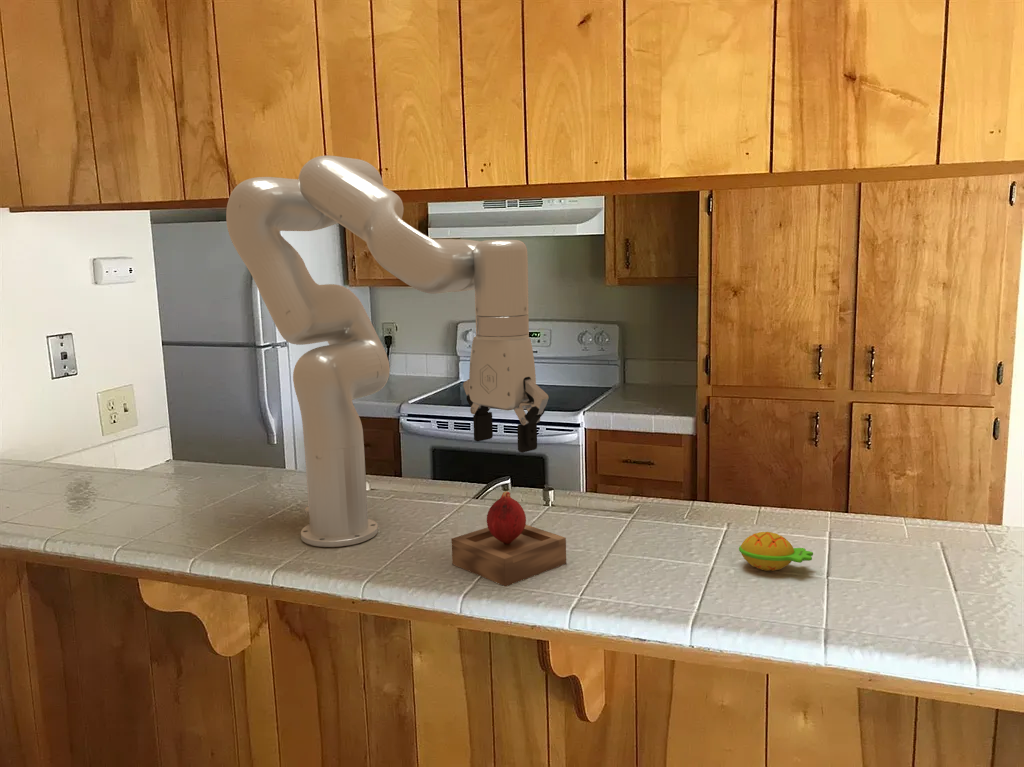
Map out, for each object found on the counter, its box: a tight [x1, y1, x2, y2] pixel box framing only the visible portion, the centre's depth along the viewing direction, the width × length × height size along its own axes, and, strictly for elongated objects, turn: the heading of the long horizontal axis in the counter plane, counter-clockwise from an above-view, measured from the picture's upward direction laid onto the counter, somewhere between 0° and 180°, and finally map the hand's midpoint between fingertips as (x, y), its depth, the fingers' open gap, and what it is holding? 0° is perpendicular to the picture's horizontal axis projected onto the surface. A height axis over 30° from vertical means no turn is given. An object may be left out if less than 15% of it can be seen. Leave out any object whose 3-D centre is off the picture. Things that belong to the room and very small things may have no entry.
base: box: [450, 524, 567, 587], centre depth 125 cm, size 12×12×4 cm
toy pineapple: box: [738, 531, 814, 572], centre depth 120 cm, size 7×10×5 cm
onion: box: [486, 490, 527, 544], centre depth 124 cm, size 6×6×8 cm
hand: (504, 445), depth 123 cm, fingers open, 9 cm apart
